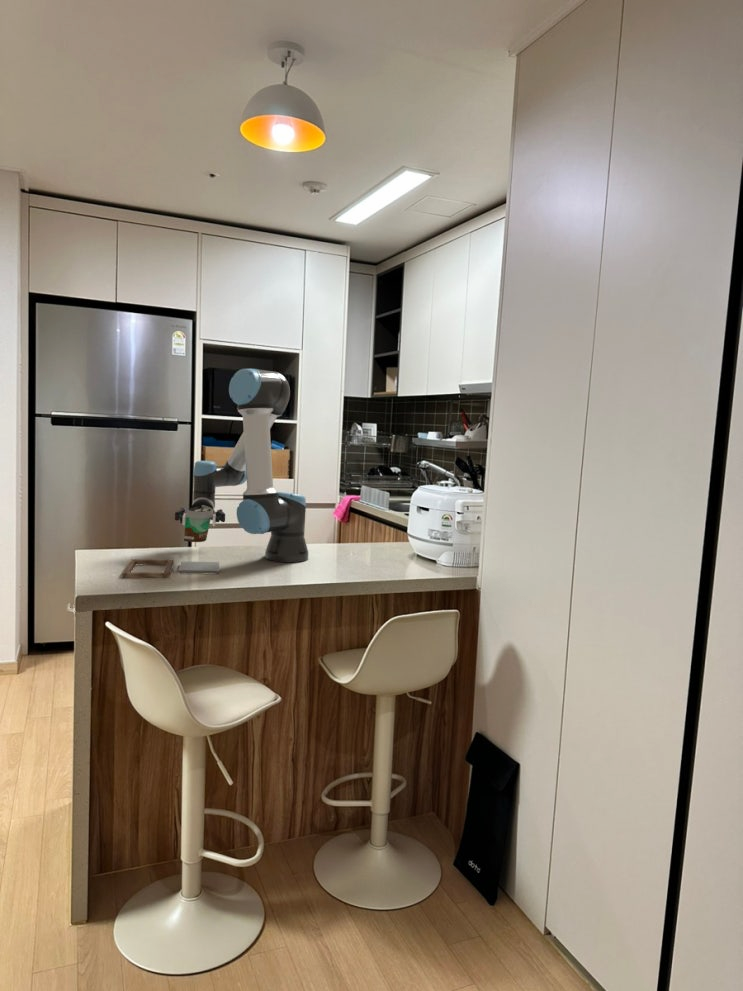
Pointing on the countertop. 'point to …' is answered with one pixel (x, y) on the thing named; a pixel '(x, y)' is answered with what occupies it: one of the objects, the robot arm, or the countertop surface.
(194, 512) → the food container
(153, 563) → the walnut holder
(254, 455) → the robot arm
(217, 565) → the plate
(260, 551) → the countertop surface
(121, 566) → the countertop surface
